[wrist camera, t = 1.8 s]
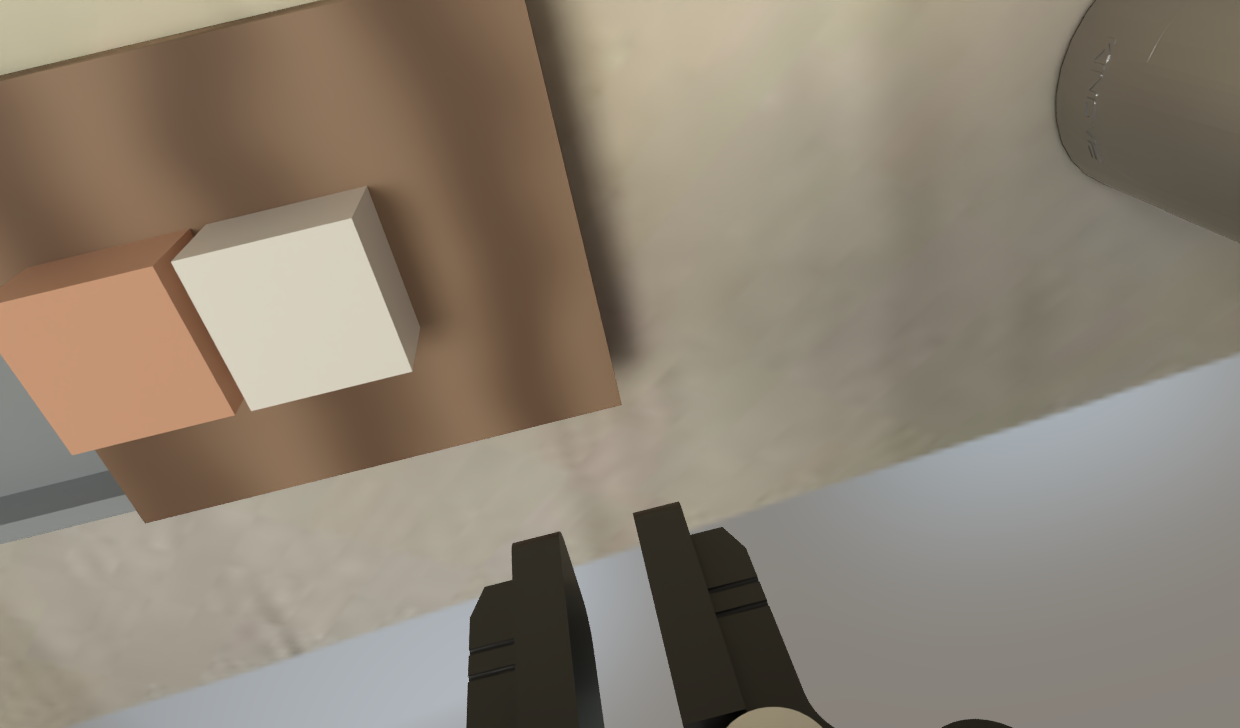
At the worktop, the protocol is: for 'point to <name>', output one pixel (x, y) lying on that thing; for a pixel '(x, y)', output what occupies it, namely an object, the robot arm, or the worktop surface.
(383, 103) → the walnut board
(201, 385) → the terracotta tile
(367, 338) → the ivory square block
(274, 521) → the worktop surface
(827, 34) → the worktop surface
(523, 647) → the robot arm
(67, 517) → the tray
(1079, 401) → the worktop surface
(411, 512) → the worktop surface
